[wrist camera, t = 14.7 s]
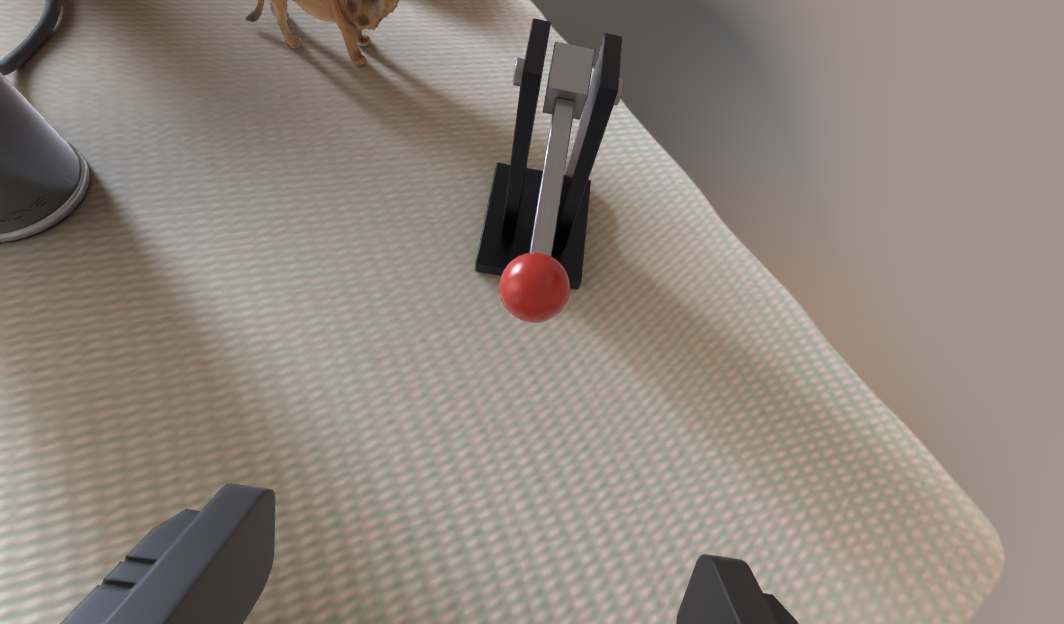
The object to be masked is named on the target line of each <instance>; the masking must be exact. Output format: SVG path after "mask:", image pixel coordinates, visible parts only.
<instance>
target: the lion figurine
mask: <svg viewBox="0 0 1064 624" xmlns="http://www.w3.org/2000/svg"><path fill="white" fill-rule="evenodd" d="M293 1H295V2H296V3H297V4H298V5H299V6H300V7H301V8H302V9H303V10H305V11H306V12H307V13H308V14H310V15H312V16H314V17H316V18H318V19H320V20H324V21H328V22H336V23H337V25H338V27H339V28H340V30H341V32H342V35H343V37H344V40H345V43H346V46H347V49H348V53H349V56H350V58H351V60H352V62H353V63H354V64H355V65H357V66H361V65H363V64H365V61H366V57H365V56H363V55H362V54H361V51H360V50H359V48H358V46H357V44H358V45H360V46H368V45H369V44H370V38H369V37H368V36H367V35H362V30H363V29H369V30H370V29H372V30H375V29H376V27H378V24H379V22H380V21H381V20H382V19H383V18H385V17H387V16H388V14H389V13H391V12H393V11H394V9H395V8H396V7H397V4H398V2H399V0H293ZM263 5H264V0H258V3H257V6H256V9H255V10H254V11H253V12H251V13H250V14H249V15H248V16H247V18H246V20H247V21H251V22H255V21H256V20H258V18H259V17H260V16H261V13H262V10H263ZM270 6H271V11H272V13H273V14H274V16H275V17H276V18H277V24H278V26H279V27H280V29H281V31H282V33H283V35H284V38H285V40H286V43H287V44H288V45H289V46H290V47H291V48H298V47H299V46H300V45H301V40H300V39H299V38H298V37H297V36H294V35H293V34H292V33H291V31H290V30H289V28H288V25H287V21H286V20H287V19H288V18H289V17H288V16H289V15H288V13H287V0H270Z"/></svg>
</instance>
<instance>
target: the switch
mask: <svg viewBox="0 0 1064 624" xmlns="http://www.w3.org/2000/svg"><path fill="white" fill-rule="evenodd" d="M594 52H595V50H594V49H589V48H584V47H579V46H574V45H569V44H564V43H560V42H555V45H554V50H553V56H552V61H551V66H550V72H549V78H548V83H547V89H546V95H545V101H544V107H543V113H548V114H552V119H551V125H550V131H549V137H548V143H547V149H546V155H545V161H544V168H543V174H542V180H541V186H540V192H539V198H538V204H537V210H536V216H535V222H534V228H533V234H532V240H531V246H530V252H529V253H526V254H523V255H520V256H518V257H517V258H515V259H514V260H512V261H511V262H510V263H509V264H508V265H507V267H506V268H505V270H504V271H503V274H502V276H501V280H500V296H501V299H502V302H503V304H504V306H505V307H506V309H507V310H508V311H509V312H510V313H511V314H512V315H513V316H515V317H516V318H518V319H520V320H523V321H526V322H531V323H539V322H544V321H547V320H549V319H551V318H553V317H555V316H556V315H557V314H558V313H559V312H560V311H561V310H562V309H563V308H564V306H565V304H566V302H567V300H568V297H569V292H570V283H569V278H568V275H567V273H566V271H565V269H564V267H563V266H562V265H561V264H560V263H559V262H558V261H557V260H556V259H554V258H553V257H551V253H552V247H553V241H554V234H555V228H556V222H557V215H558V209H559V203H560V196H561V190H562V184H563V177H564V171H565V164H566V158H567V152H568V145H569V139H570V133H571V126H572V120H573V118H574V119H579V120H580V118H581V115H582V111H583V108H584V105H585V102H586V99H587V96H588V91H589V85H590V78H591V72H592V65H593V58H594Z"/></svg>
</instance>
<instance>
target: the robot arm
mask: <svg viewBox="0 0 1064 624" xmlns="http://www.w3.org/2000/svg"><path fill="white" fill-rule="evenodd" d="M60 9H61V0H46V4H45V8H44V11H43V14H42V16H41V18H40V20H39V22H38V23H37V25H36V26H35V28H34V29H33V30H32V32H31V33H30V34H29V35H28V36H27V38H26V39H25V40H24V41H23V42H22V43H21V44H20V45H19V46H18V47H17V48H15V49H14V50H13V51H12V52H11V53H10V54H8V55H7V56H6V57H5V58H3V59H2V60H1V61H0V242H7V241H13V240H17V239H21V238H25V237H28V236H31V235H34V234H36V233H39V232H41V231H43V230H45V229H47V228H49V227H51V226H53V225H54V224H56V223H58V222H59V221H60V220H62V219H63V218H65V217H66V216H67V215H68V214H69V213H70V212H71V211H73V210H74V209H75V207H76V206H77V205H78V204H79V203H80V201H81V200H82V198H83V197H84V195H85V193H86V191H87V188H88V185H89V179H90V174H89V168H88V165H87V163H86V161H85V159H84V158H83V157H82V156H81V154H80V153H79V152H78V151H77V150H76V149H75V148H74V147H73V146H72V145H71V144H69V143H68V142H66V141H65V140H64V139H63V138H62V137H61V136H60V135H59V134H58V133H57V132H56V130H55V129H54V128H53V127H52V126H51V125H50V124H49V123H48V122H47V121H46V120H45V119H44V118H43V117H42V115H41V114H40V113H39V112H38V111H37V110H36V109H35V108H34V107H33V106H32V105H31V104H30V103H29V102H28V101H27V100H26V99H25V98H24V97H23V96H22V95H21V94H20V92H19V91H18V90H17V89H16V88H15V87H14V86H13V85H12V84H11V83H10V82H9V81H8V80H7V79H6V78H5V77H4V76H3V75H7V74H9V73H11V72H13V71H15V70H16V69H17V68H18V67H20V66H21V65H22V64H23V63H24V62H25V61H26V60H28V59H29V58H30V57H31V56H32V55H33V54H34V53H35V52H36V51H37V50H38V49H39V48H40V46H41V45H42V44H43V43H44V42H45V40H46V39H47V38H48V36H49V35H50V33H51V32H52V30H53V28H54V27H55V25H56V22H57V20H58V17H59V14H60ZM274 539H275V493H274V491H273V490H272V489H266V488H260V487H253V486H246V485H239V484H232V483H229V484H226V485H225V486H224V487H222V488H221V489H220V490H219V491H218V493H217V494H216V495H215V496H214V497H213V498H212V499H211V500H210V502H209V503H208V504H207V505H206V506H205V507H204V508H203V509H202V510H201V511H195V510H188V509H185V510H184V511H182V512H180V513H179V514H177V515H175V516H174V517H172V518H170V519H169V520H167V521H165V522H164V523H162V524H160V525H159V526H157V527H155V528H154V529H152V530H151V531H150V532H149V533H148V534H147V535H146V536H145V537H144V538H143V539H142V540H141V541H140V542H139V543H138V544H137V545H136V546H135V547H134V548H133V550H132V551H131V552H130V553H129V554H128V555H127V556H126V559H125V560H124V562H120V563H119V564H118V565H117V566H116V567H115V568H114V569H113V570H112V571H111V572H110V573H109V574H108V575H107V576H106V577H105V578H104V579H103V583H102V584H101V585H100V586H99V585H97V586H96V587H95V588H94V589H93V590H92V591H91V592H90V593H89V595H88V596H87V597H86V598H85V599H84V600H83V601H82V602H81V603H80V604H79V605H78V606H77V607H76V608H75V609H74V610H73V611H72V612H71V613H70V614H69V615H68V616H67V617H66V618H65V619H64V620H63V621H62V622H61V623H60V624H243V623H244V621H245V620H246V618H247V616H248V615H249V613H250V611H251V610H252V608H253V606H254V605H255V603H256V601H257V600H258V598H259V596H260V595H261V593H262V591H263V589H264V587H265V585H266V582H267V580H268V577H269V574H270V571H271V568H272V564H273V559H274ZM676 624H798V622H797V621H796V620H795V619H794V618H793V616H792V615H791V614H790V613H789V612H788V611H787V610H786V609H785V608H784V607H783V606H782V605H781V603H780V602H779V601H778V600H777V599H776V598H775V597H774V596H773V595H771V594H764V593H762V591H761V589H760V587H759V585H758V583H757V581H756V579H755V577H754V575H753V573H752V571H751V569H750V567H749V566H748V564H747V563H746V562H745V561H743V560H740V559H733V558H726V557H720V556H713V555H706V554H703V555H701V556H700V557H699V558H698V560H697V562H696V565H695V568H694V571H693V573H692V576H691V579H690V581H689V584H688V587H687V589H686V592H685V595H684V598H683V600H682V603H681V606H680V608H679V611H678V615H677V622H676Z"/></svg>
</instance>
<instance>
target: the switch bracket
mask: <svg viewBox="0 0 1064 624" xmlns="http://www.w3.org/2000/svg"><path fill="white" fill-rule="evenodd" d="M550 25H551V22H549V21H544V20H539V19H533V21H532V26H531V31H530V36H529V41H528V46H527V51H526V55H525V59H522V58H517V60H516V65H515V71H514V79H513V85H516V86H520V93H519V101H518V109H517V117H516V125H515V132H514V140H513V148H512V156H511V164H510V165H508V164H503V163H497V164H496V169H495V174H494V178H493V183H492V188H491V193H490V197H489V202H488V207H487V212H486V216H485V221H484V226H483V231H482V235H481V240H480V245H479V250H478V254H477V259H476V266H475V271H477V272H482V273H488V274H494V275H499V276H502V274H503V271H504V270H505V268H506V267H507V265H508V264H509V263H510V262H511V261H512V260H514V259H515V258H517V257H518V256H520V255H523V254H526V253H529V252H530V246H531V240H532V234H533V228H534V222H535V216H536V210H537V204H538V198H539V192H540V186H541V180H542V174H543V171H540V170H534V169H529V168H526V167H527V161H528V155H529V149H530V143H531V138H532V132H533V126H534V120H535V114H536V108H537V102H538V96H539V90H540V84H541V78H542V72H543V67H544V61H545V55H546V49H547V43H548V37H549V31H550ZM621 46H622V37H621V36H616V35H612V34H607V33H605V35H604V38H603V41H602V45H601V49H600V52H599V56H598V59H597V63H596V67H595V70H594V74H593V78H592V81H591V85H590V88H589V92H588V96H587V99H586V103H585V107H584V110H583V114H582V117H581V121H580V125H579V128H578V132H577V136H576V139H575V143H574V146H573V150H572V154H571V157H570V161H569V165H568V168H567V172H566V175H564V177H563V184H562V190H561V196H560V203H559V209H558V215H557V222H556V228H555V234H554V241H553V247H552V253H551V257H553V258H554V259H556V260H557V261H558V262H559V263H560V264H561V265H562V266H563V267H564V269H565V271H566V273H567V275H568V278H569V283H570V288H573V289H578V288H579V286H580V283H581V278H582V268H583V257H584V247H585V237H586V226H587V216H588V206H589V195H590V185H591V180H588V179H589V176H590V173H591V170H592V167H593V164H594V161H595V158H596V155H597V152H598V149H599V146H600V144H601V141H602V138H603V135H604V132H605V129H606V126H607V123H608V120H609V117H610V114H611V111H612V108H613V105H618V103H619V101H620V97H621V94H622V89H623V79H621V78H619V74H620V60H621Z"/></svg>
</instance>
